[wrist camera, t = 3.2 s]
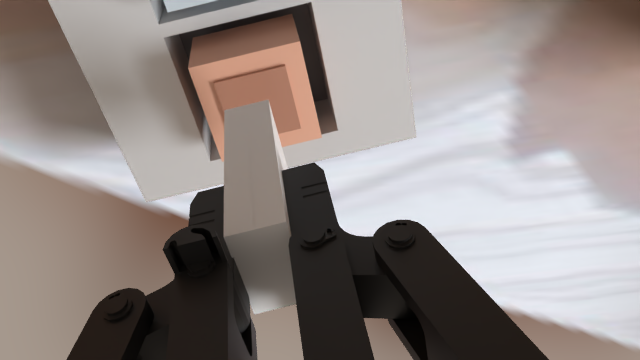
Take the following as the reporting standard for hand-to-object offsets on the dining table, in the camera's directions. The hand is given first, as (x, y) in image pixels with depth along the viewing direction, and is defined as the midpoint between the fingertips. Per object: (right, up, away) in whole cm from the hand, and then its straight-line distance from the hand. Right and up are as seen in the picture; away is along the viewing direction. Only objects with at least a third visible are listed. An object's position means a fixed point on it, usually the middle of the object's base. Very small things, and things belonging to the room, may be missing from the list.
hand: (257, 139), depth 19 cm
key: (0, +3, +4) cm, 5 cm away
